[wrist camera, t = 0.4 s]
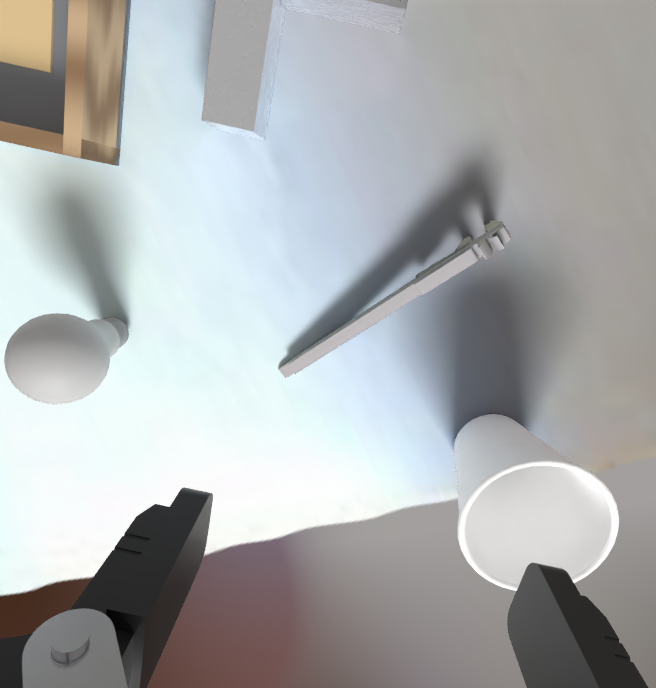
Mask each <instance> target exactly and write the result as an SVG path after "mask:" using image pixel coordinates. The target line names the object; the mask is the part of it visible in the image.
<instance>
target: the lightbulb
mask: <svg viewBox="0 0 656 688" xmlns="http://www.w3.org/2000/svg"><path fill="white" fill-rule="evenodd" d="M128 335H129V333H128V329H127V326H126V325H125V324H124V323H123V322H122V321H121V320H120V319H117V318H113V317H110V318H105V319H102V320H97V319H95V320H90V321H86V320H84V319H82V318H79V317H77V316H73V315H69V314H46V315H42V316H39V317H36V318H34V319H31V320H30V321H28V322H27V323H25V324H24V325H22V326H21V327H19V329H18V330H17V331H16V332H15V333H14V334H13V335H12V337H11V338H10V340H9V342H8V344H7V348H6V352H5V360H4V362H5V368H6V372H7V374H8V377H9V379H10V380H11V382H12V383H13V385H14V386H15V387H16V388H17V389H18V390H19V391H20V392H21V393H23V394H24V395H26V396H27V397H29V398H31V399H33V400H36V401H39V402H43V403H47V404H63V403H70V402H73V401H76V400H79V399H82V398H84V397H86V396H87V395H89V394H90V393H92V392H93V391H94V390H95V389H96V388H97V387H98V386H99V385H100V384H101V382H102V381H103V379H104V378H105V376H106V374H107V371H108V368H109V362H110V357H111V356H112V355H113V354H115V353H116V351H117V350H118V348H119V347H121V346H122V345H123V344H124V343H125V342H126V341H127V339H128Z"/></svg>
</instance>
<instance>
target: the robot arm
mask: <svg viewBox="0 0 656 688" xmlns="http://www.w3.org/2000/svg"><path fill="white" fill-rule="evenodd" d="M212 500H213V495H212V493H207V492H203V491H198V490H193V489H188V488H182V489H181V490H180V492H179V493H178V495H177V496H176V498H175V500H174V501H173V503H172V504H171V506H170V507H166V506H162V505H157V504H155V505H153V506H152V507H150V508H149V509H147V510H146V511H144V512H143V513H141V514H140V515H138V516H137V517H136V518H135V520H134V521H133V522H132V524H131V525H130V527H129V528H128V529H127V531H126V532H125V535H124V536H122V538H121V539H120V541H119V542H118V544H117V545H116V546H115V549H114V551H112V552H111V553H110V555H109V556H108V558H107V559H106V560H105V562H104V563H103V565H102V566H101V567H100V569H99V570H98V572H97V573H96V574H95V576H94V577H93V579H92V580H91V581H90V583H89V584H88V586H87V587H86V589H85V590H84V591H83V593H82V594H81V596H80V597H79V598H78V600H77V601H76V603H75V604H74V605H73V606H72V608H71V609H70V610H69V611H66V612H63V613H60V614H58V615H56V616H54V617H52V618H50V619H49V620H47V621H46V622H44V623H43V624H42V625H41V626H40V627H38V629H36V631H35V632H34V633H32V634H28V635H24V636H18V637H12V638H1V639H0V688H147V687H148V684H149V682H150V680H151V678H152V675H153V673H154V671H155V668H156V666H157V664H158V661H159V659H160V657H161V655H162V652H163V650H164V648H165V646H166V643H167V641H168V639H169V636H170V634H171V632H172V630H173V627H174V625H175V623H176V620H177V618H178V616H179V613H180V611H181V609H182V607H183V604H184V602H185V600H186V598H187V595H188V593H189V591H190V588H191V586H192V584H193V582H194V579H195V577H196V575H197V572H198V570H199V568H200V565H201V562H202V559H203V555H204V551H205V547H206V542H207V535H208V528H209V521H210V514H211V507H212ZM508 633H509V637H510V640H511V643H512V646H513V649H514V652H515V655H516V658H517V660H518V663H519V666H520V669H521V672H522V675H523V678H524V680H525V683H526V686H527V688H648V687H647V685H646V683H645V681H644V680H643V678H642V676H641V675H640V673H639V671H638V670H637V668H636V667H635V665H634V663H633V662H630V656H629V655H628V653H627V652H626V650H625V648H624V647H623V645H622V644H621V643H619V638H618V637H617V635H616V633H615V631H614V630H613V628H612V626H611V625H610V623H609V622H608V620H607V618H606V617H605V616H604V615H603V614H602V613H601V612H600V610H599V609H597V607H596V606H594V604H593V603H592V602H591V601H590V600H589V599H588V598H587V597H586V596H581V595H580V593H579V591H578V590H577V588H576V586H575V584H574V583H573V581H572V579H571V577H570V576H569V574H568V573H567V572H566V571H565V570H564V569H561V568H557V567H552V566H547V565H542V564H538V563H530V564H529V565H528V566H527V568H526V570H525V572H524V575H523V577H522V580H521V582H520V584H519V587H518V589H517V592H516V594H515V596H514V599H513V601H512V604H511V606H510V609H509V613H508Z"/></svg>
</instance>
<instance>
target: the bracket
mask: <svg viewBox="0 0 656 688" xmlns="http://www.w3.org/2000/svg"><path fill="white" fill-rule="evenodd" d="M407 3H408V0H216V2H215V11H214V19H213V27H212V36H211V44H210V53H209V61H208V70H207V78H206V87H205V95H204V103H203V112H202V121H204V122H206V123H207V124H209V125H211V126H212V127H214V128H216V129H218V130H220V131H224V132H229V133H233V134H238V135H242V136H247V137H251V138H256V139H260V140H265V139H266V133H267V127H268V120H269V114H270V108H271V101H272V95H273V89H274V82H275V76H276V70H277V63H278V57H279V51H280V44H281V38H282V32H283V25H284V19H285V13H286V9H289V10H293V11H298V12H302V13H307V14H311V15H316V16H320V17H325V18H329V19H334V20H338V21H343V22H347V23H352V24H356V25H361V26H365V27H370V28H374V29H379V30H383V31H388V32H393V33H397V34H400V32H401V28H402V24H403V20H404V15H405V11H406V7H407Z"/></svg>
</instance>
